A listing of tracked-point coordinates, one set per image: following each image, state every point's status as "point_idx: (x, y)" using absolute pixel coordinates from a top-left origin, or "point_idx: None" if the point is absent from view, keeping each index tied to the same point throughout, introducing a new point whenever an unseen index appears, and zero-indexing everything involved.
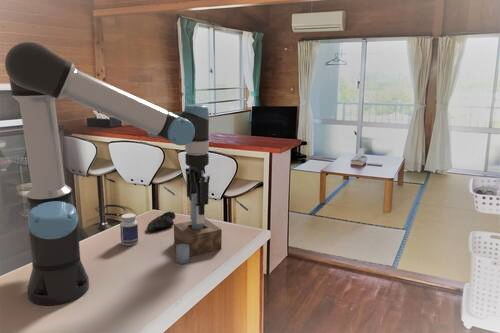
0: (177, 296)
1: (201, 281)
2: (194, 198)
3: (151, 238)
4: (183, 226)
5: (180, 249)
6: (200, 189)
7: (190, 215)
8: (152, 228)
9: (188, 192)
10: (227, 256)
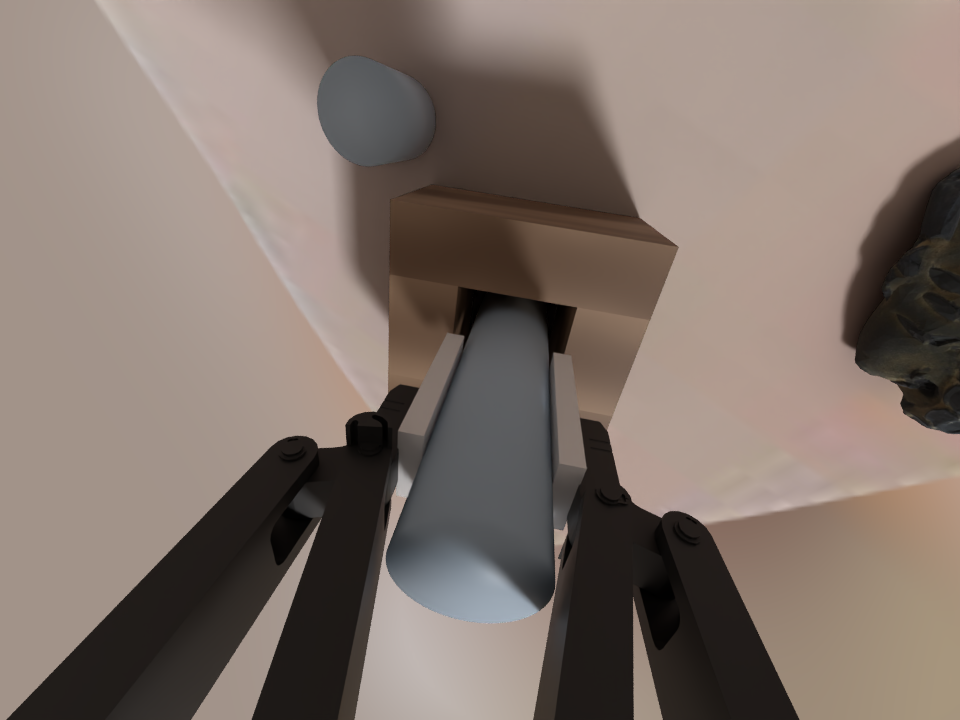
0: None
1: (146, 66)
2: (434, 492)
3: (843, 131)
4: (580, 281)
5: (329, 69)
6: (128, 666)
7: (569, 371)
8: (948, 201)
9: (677, 575)
10: (342, 333)
